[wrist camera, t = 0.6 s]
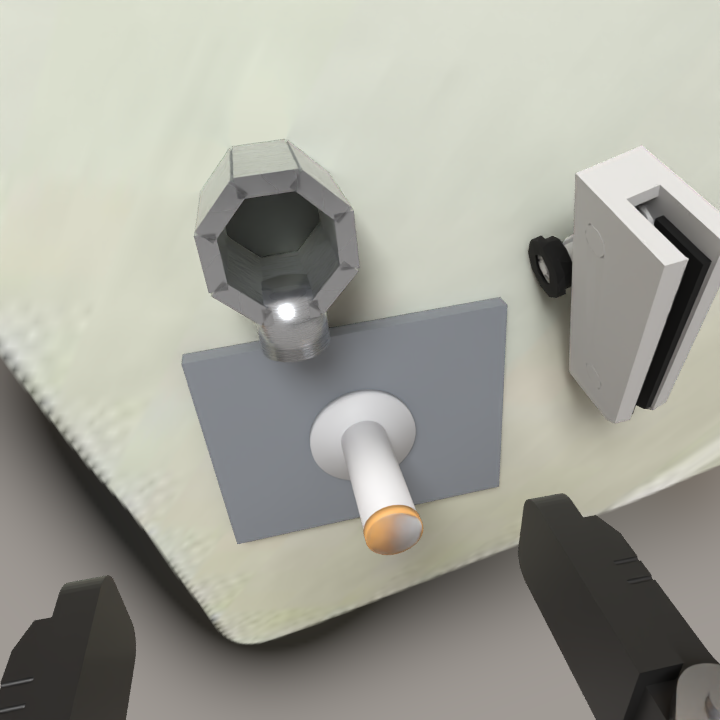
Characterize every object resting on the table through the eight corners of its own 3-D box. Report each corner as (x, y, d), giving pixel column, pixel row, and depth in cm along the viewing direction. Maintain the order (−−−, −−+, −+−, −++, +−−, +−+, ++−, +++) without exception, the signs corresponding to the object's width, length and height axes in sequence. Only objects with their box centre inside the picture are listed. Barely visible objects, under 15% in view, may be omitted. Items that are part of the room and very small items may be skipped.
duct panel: (500, 297, 33) (581, 381, 25) (493, 476, 40) (554, 583, 33) (182, 354, 31) (168, 465, 23) (237, 532, 38) (239, 660, 31)
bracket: (521, 134, 26) (531, 333, 38) (650, 274, 20) (615, 459, 31) (605, 98, 26) (589, 309, 37) (763, 228, 19) (685, 432, 31)
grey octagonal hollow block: (325, 133, 26) (349, 162, 21) (344, 291, 31) (368, 348, 26) (189, 152, 26) (180, 187, 21) (228, 312, 30) (229, 374, 25)
